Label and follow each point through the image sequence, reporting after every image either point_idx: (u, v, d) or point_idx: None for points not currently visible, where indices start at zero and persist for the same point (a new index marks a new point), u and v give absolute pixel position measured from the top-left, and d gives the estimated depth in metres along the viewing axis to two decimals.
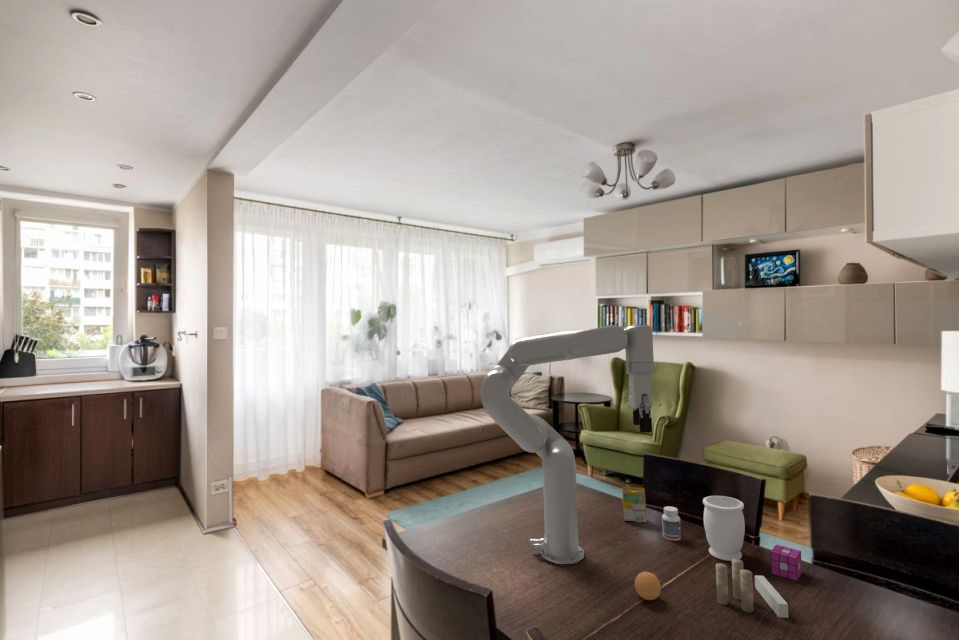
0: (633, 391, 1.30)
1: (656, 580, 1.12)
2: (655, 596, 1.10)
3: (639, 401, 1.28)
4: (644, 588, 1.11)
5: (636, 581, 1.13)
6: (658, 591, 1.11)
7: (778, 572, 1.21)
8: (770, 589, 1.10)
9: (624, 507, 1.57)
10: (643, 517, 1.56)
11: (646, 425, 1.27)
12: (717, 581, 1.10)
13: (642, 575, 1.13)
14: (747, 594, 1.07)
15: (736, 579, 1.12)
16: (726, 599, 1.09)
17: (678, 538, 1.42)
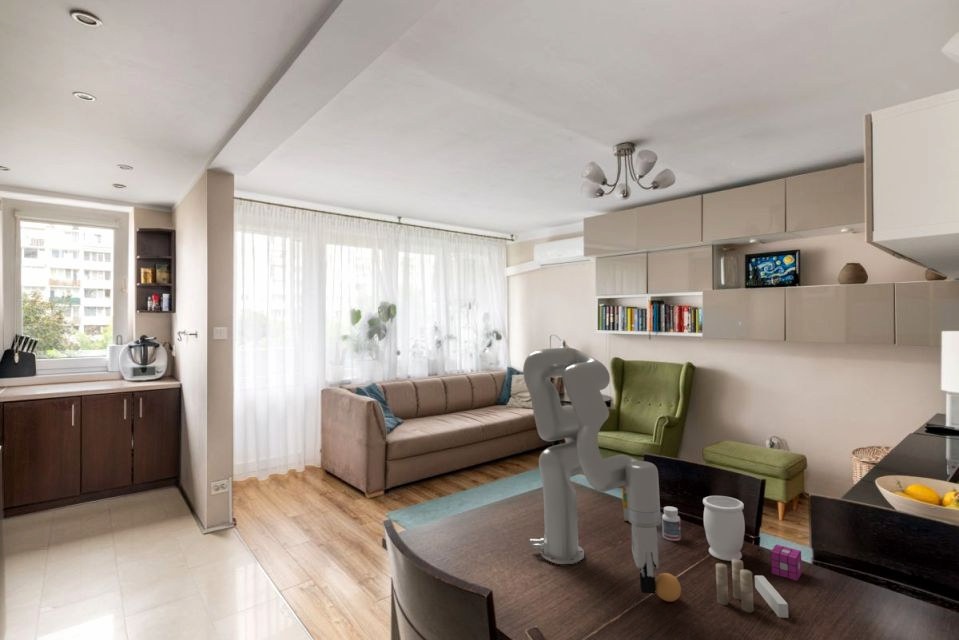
0: (636, 546, 1.10)
1: (679, 595, 1.11)
2: (667, 599, 1.10)
3: (643, 560, 1.08)
4: (670, 587, 1.10)
5: (668, 576, 1.12)
6: (672, 600, 1.10)
7: (778, 572, 1.21)
8: (770, 589, 1.10)
9: (624, 507, 1.57)
10: None
11: (648, 586, 1.11)
12: (717, 581, 1.10)
13: (677, 580, 1.11)
14: (747, 594, 1.07)
15: (736, 579, 1.12)
16: (726, 599, 1.09)
17: (678, 538, 1.42)
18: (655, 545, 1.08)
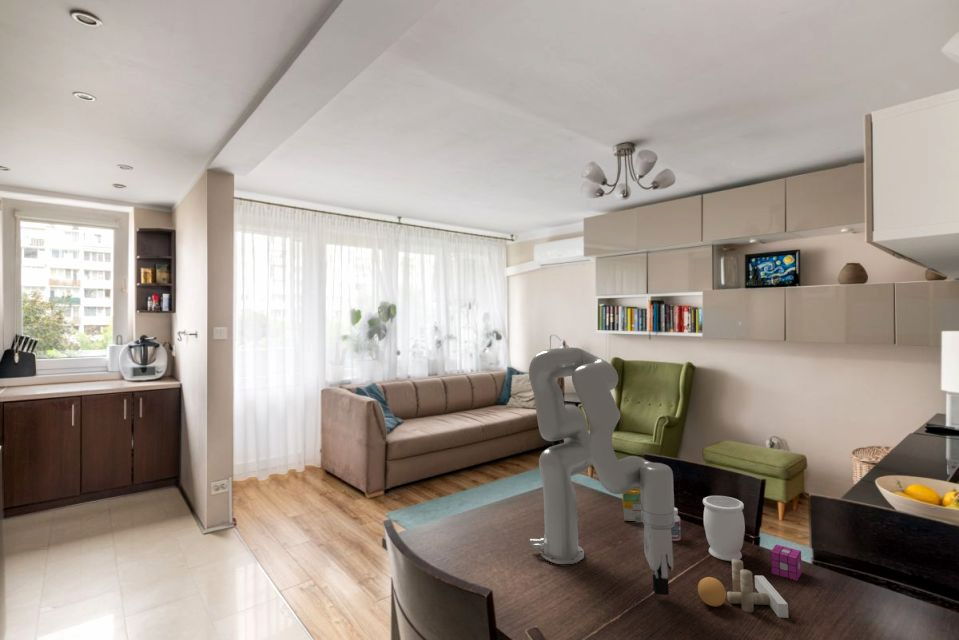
0: (650, 548, 1.10)
1: (701, 589, 1.09)
2: (718, 593, 1.07)
3: (658, 562, 1.08)
4: (713, 605, 1.08)
5: None
6: (711, 590, 1.08)
7: (778, 572, 1.21)
8: (770, 589, 1.10)
9: (624, 507, 1.57)
10: None
11: (662, 587, 1.11)
12: None
13: (702, 599, 1.10)
14: (747, 594, 1.07)
15: (736, 579, 1.12)
16: (736, 602, 1.09)
17: (678, 538, 1.42)
18: (670, 547, 1.08)
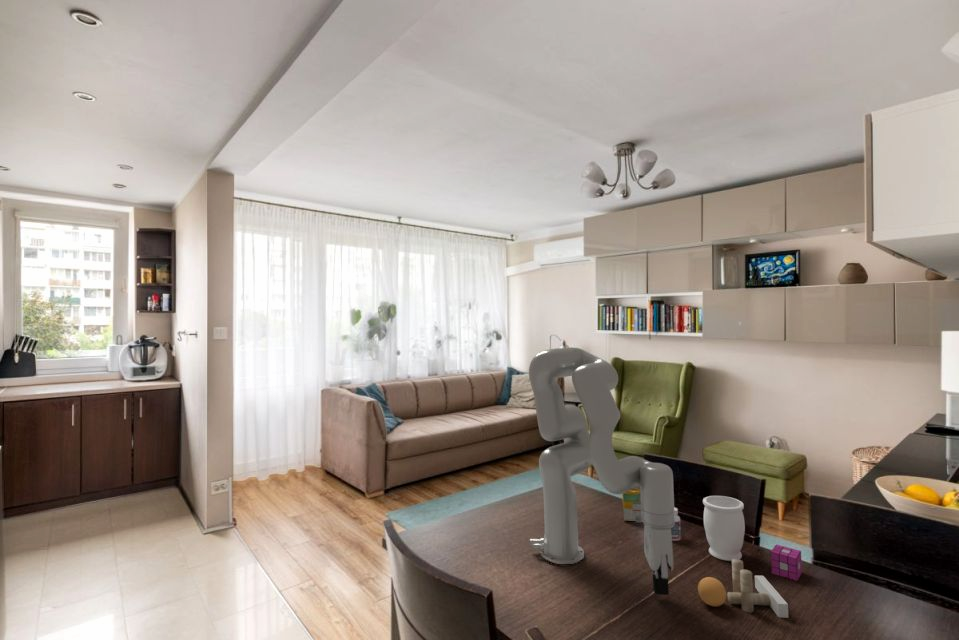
0: (650, 548, 1.10)
1: (701, 589, 1.09)
2: (718, 593, 1.07)
3: (658, 562, 1.08)
4: (713, 605, 1.08)
5: None
6: (712, 590, 1.08)
7: (778, 572, 1.21)
8: (770, 589, 1.10)
9: (624, 507, 1.57)
10: None
11: (662, 587, 1.11)
12: None
13: (702, 599, 1.10)
14: (747, 594, 1.07)
15: (736, 579, 1.12)
16: (736, 603, 1.09)
17: (678, 538, 1.42)
18: (670, 547, 1.08)
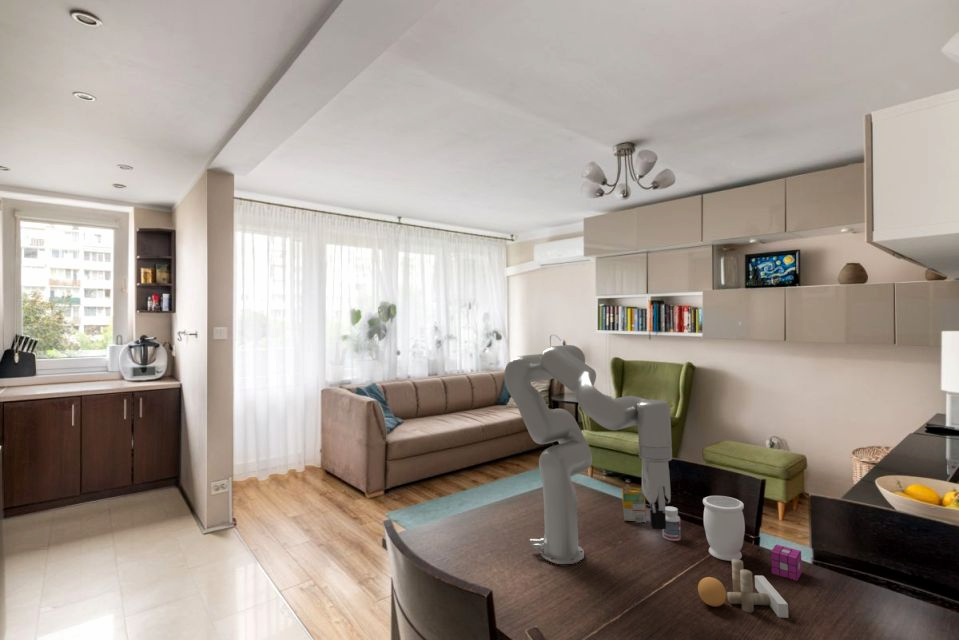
0: (648, 481, 1.10)
1: (701, 589, 1.09)
2: (718, 593, 1.07)
3: (655, 494, 1.08)
4: (713, 605, 1.08)
5: None
6: (712, 590, 1.08)
7: (778, 572, 1.21)
8: (770, 589, 1.10)
9: (624, 507, 1.57)
10: (643, 517, 1.56)
11: (659, 521, 1.12)
12: None
13: (702, 599, 1.10)
14: (747, 594, 1.07)
15: (736, 579, 1.12)
16: (736, 603, 1.09)
17: (678, 538, 1.42)
18: (667, 479, 1.08)
